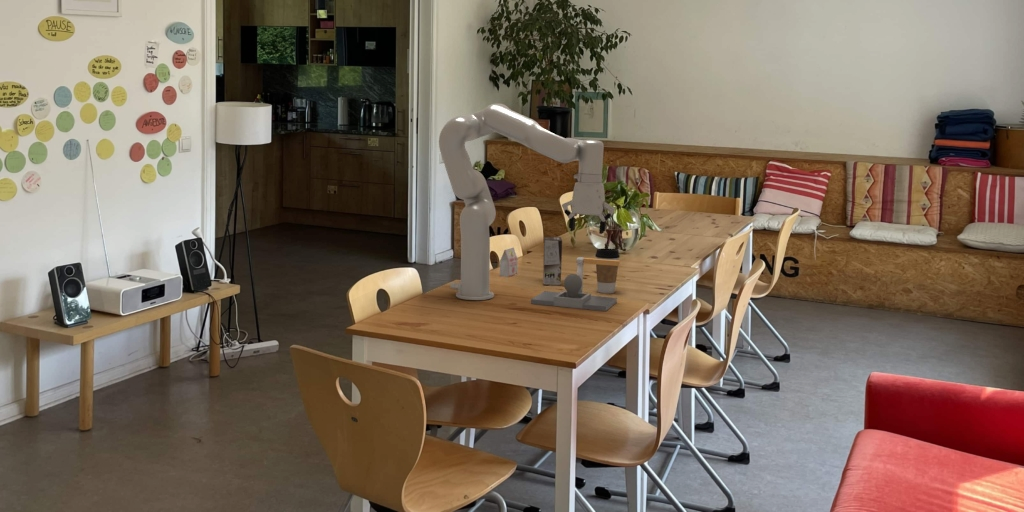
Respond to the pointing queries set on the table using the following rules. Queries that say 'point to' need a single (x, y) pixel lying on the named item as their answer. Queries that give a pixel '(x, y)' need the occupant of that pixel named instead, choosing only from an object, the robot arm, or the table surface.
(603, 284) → the coffee cup
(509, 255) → the red and white carton
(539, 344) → the table surface
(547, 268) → the coffee box
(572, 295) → the light bulb
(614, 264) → the long wooden bar
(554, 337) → the table surface
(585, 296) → the plate with square opening
